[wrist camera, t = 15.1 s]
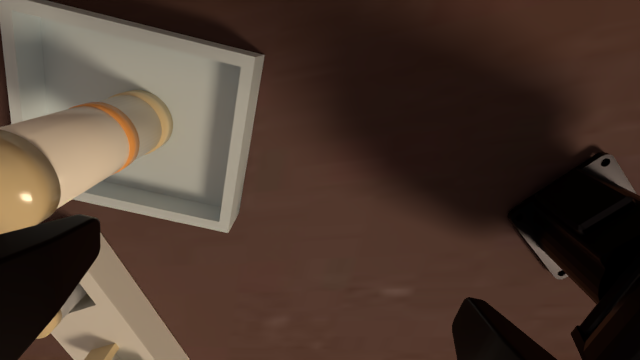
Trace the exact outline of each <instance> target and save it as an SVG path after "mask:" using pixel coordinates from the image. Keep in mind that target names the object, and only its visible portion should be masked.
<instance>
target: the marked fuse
mask: <svg viewBox="0 0 640 360" xmlns="http://www.w3.org/2000/svg"><path fill="white" fill-rule="evenodd" d="M172 131H173V119H172V116H171V113H170V111H169V109H168V107H167V106H166V104H165V103H164V102H163V101H162V100H161V99H160V98H158V97H157V96H156V95H154V94H152V93H150V92H147V91H144V90H130V91H126V92H122V93H119V94H115V95H113V96H111V97H110V98H108V99H104V100H100V101H97V102H89V103H85V104H81V105H77V106H74V107H71V108H69V109H67V110H63V111H59V112H56V113H52V114H48V115H44V116H41V117H37V118H33V119H29V120H26V121H22V122H18V123H14V124H11V125H7V126H3V127H0V234H3V233H7V232H11V231H15V230H19V229H23V228H27V227H31V226H35V225H37V224H39V223H41V222H42V221H44V220H45V219H47V218H48V217H50V216H51V215H52V214H53V213H54V212H55V210H56V209H57V208H59V207H61V206H62V205H64V204H65V203H67V202H69V201H70V200H72V199H73V198H75V197H77V196H78V195H80V194H82V193H83V192H85V191H86V190H88V189H90V188H91V187H93V186H94V185H96V184H98V183H99V182H101V181H103V180H104V179H106V178H107V177H109V176H111V175H113V174H115V173H117V172H119V171H121V170H122V169H124V168H126V167H127V166H129V165H130V164H131V163H132V162H133V161H135V160H136V159H138V158H140V157H141V156H143V155H146V154H149V153H151V152H153V151H155V150H156V149H158V148H159V147H161V146H162V145H164V144H165V143H166V142H167V141H168V140H169V139H170V137H171V134H172Z"/></svg>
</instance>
